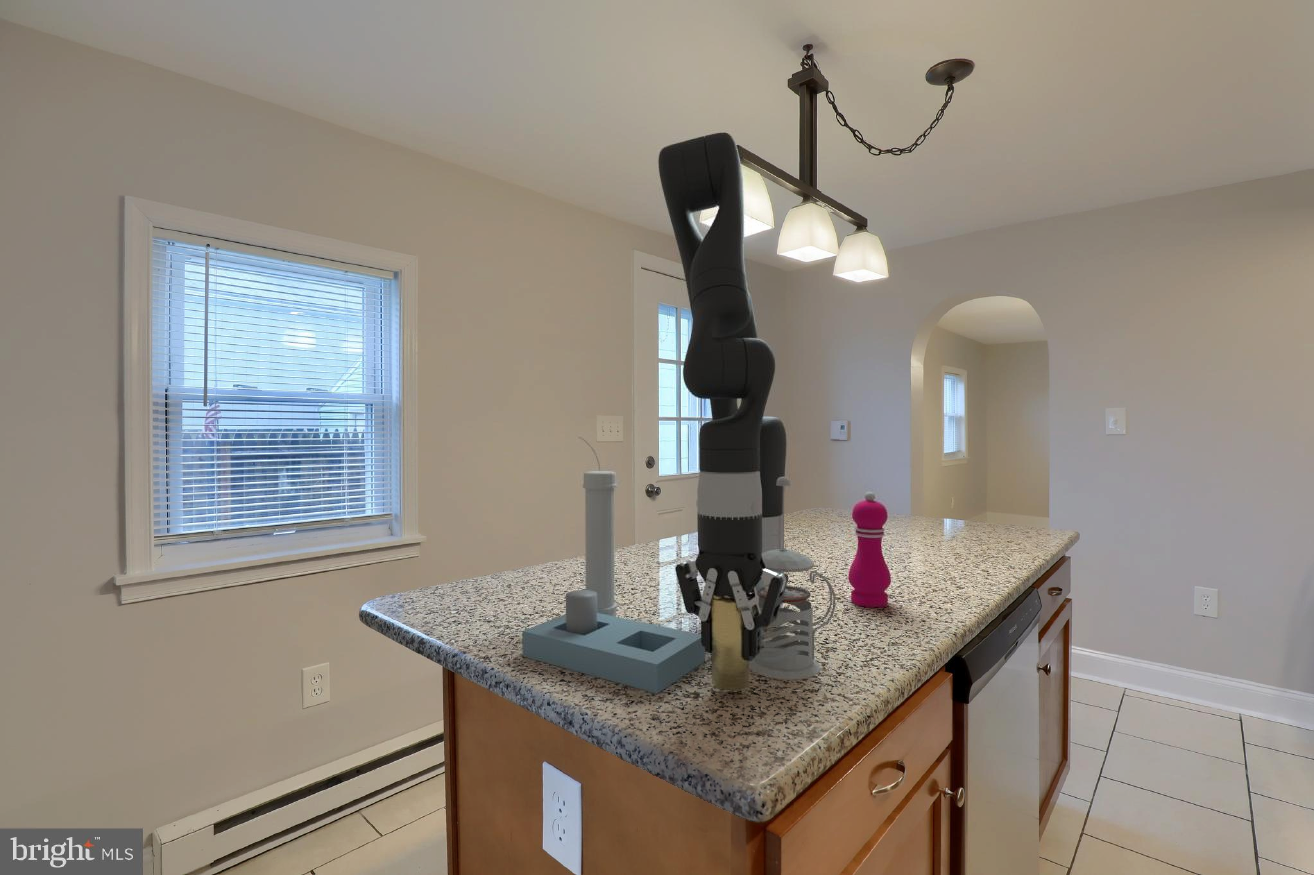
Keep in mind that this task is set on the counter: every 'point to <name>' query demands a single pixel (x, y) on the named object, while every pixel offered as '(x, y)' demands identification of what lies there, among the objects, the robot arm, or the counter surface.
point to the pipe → (600, 536)
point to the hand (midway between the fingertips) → (730, 653)
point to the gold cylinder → (728, 645)
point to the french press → (789, 619)
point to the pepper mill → (869, 555)
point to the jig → (613, 646)
